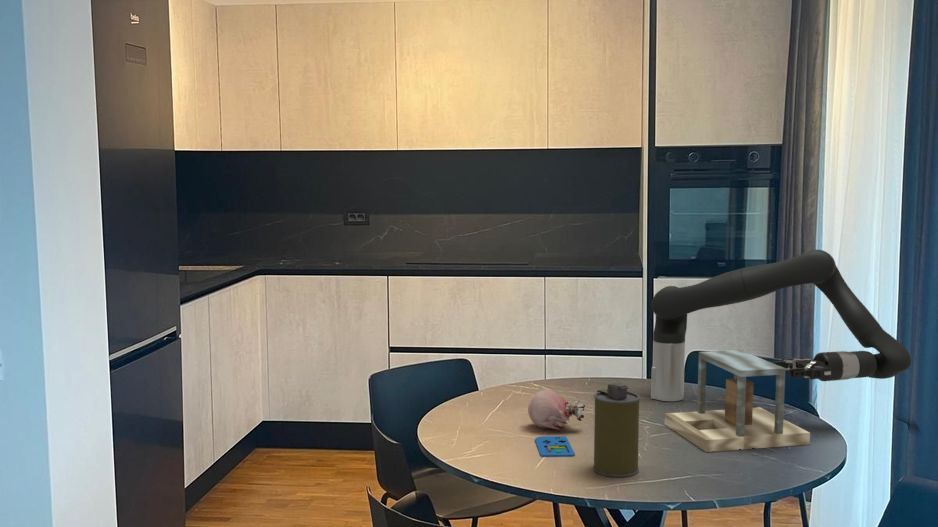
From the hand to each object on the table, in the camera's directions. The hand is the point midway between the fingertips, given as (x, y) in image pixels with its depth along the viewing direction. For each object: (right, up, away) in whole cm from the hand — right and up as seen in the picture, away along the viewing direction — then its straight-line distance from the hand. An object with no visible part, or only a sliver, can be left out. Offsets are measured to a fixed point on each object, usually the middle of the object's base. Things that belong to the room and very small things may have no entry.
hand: (780, 369), depth 239 cm
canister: (-47, -20, -27) cm, 58 cm away
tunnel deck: (-11, -17, 0) cm, 20 cm away
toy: (-58, -16, +5) cm, 60 cm away
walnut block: (-11, -14, -1) cm, 18 cm away
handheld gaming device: (-60, -18, -11) cm, 63 cm away
